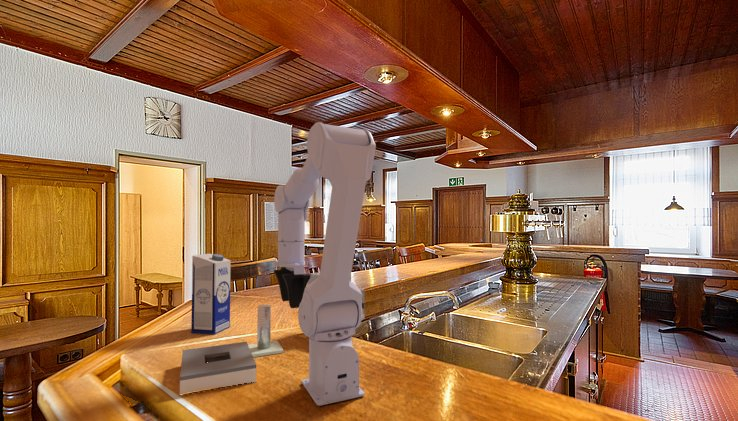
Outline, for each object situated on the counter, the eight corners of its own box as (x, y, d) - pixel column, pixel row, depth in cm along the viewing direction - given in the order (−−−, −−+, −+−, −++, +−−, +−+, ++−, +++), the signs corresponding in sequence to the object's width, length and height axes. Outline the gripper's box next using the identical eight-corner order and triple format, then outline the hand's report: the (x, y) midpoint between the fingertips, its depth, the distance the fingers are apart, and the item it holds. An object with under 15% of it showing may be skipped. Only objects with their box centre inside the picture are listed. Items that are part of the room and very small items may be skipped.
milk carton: (208, 325, 100) (209, 252, 101) (230, 326, 99) (231, 253, 99) (190, 333, 93) (191, 254, 94) (214, 334, 92) (215, 255, 92)
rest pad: (283, 352, 79) (283, 349, 79) (249, 357, 76) (249, 355, 76) (276, 343, 85) (277, 340, 85) (245, 347, 82) (245, 344, 82)
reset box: (256, 381, 64) (256, 364, 64) (179, 395, 59) (179, 377, 59) (246, 355, 77) (246, 341, 77) (182, 365, 72) (182, 350, 72)
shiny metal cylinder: (271, 348, 80) (272, 306, 80) (258, 350, 78) (259, 307, 79) (268, 344, 82) (269, 304, 83) (256, 346, 81) (256, 305, 81)
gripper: (266, 240, 85) (266, 299, 84) (279, 243, 72) (279, 313, 71) (296, 239, 88) (296, 296, 87) (314, 242, 75) (314, 309, 74)
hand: (291, 304), depth 79 cm, fingers open, 7 cm apart
